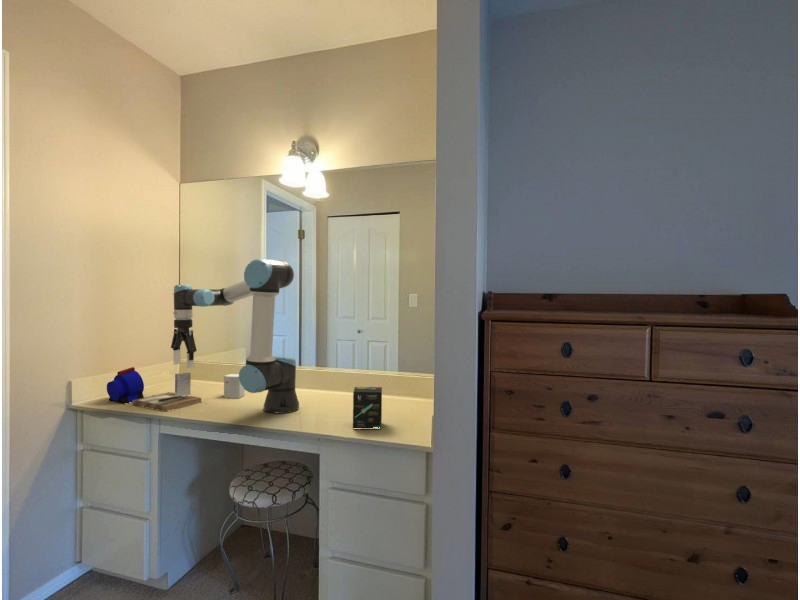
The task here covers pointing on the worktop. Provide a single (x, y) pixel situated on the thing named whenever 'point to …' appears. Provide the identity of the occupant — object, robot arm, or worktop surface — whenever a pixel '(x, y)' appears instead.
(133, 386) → the blue toy motor
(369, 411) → the tampon box
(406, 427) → the worktop surface
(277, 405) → the robot arm
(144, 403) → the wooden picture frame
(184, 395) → the upright grey block
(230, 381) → the small box
